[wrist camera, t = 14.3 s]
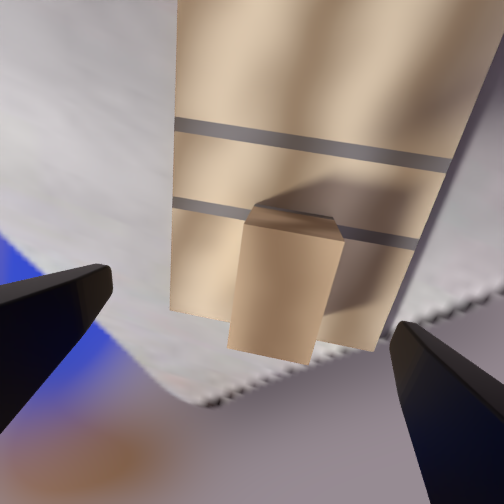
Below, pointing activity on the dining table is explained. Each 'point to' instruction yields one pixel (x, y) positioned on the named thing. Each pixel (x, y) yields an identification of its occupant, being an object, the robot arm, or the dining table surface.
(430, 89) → the board
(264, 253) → the block
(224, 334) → the dining table surface
